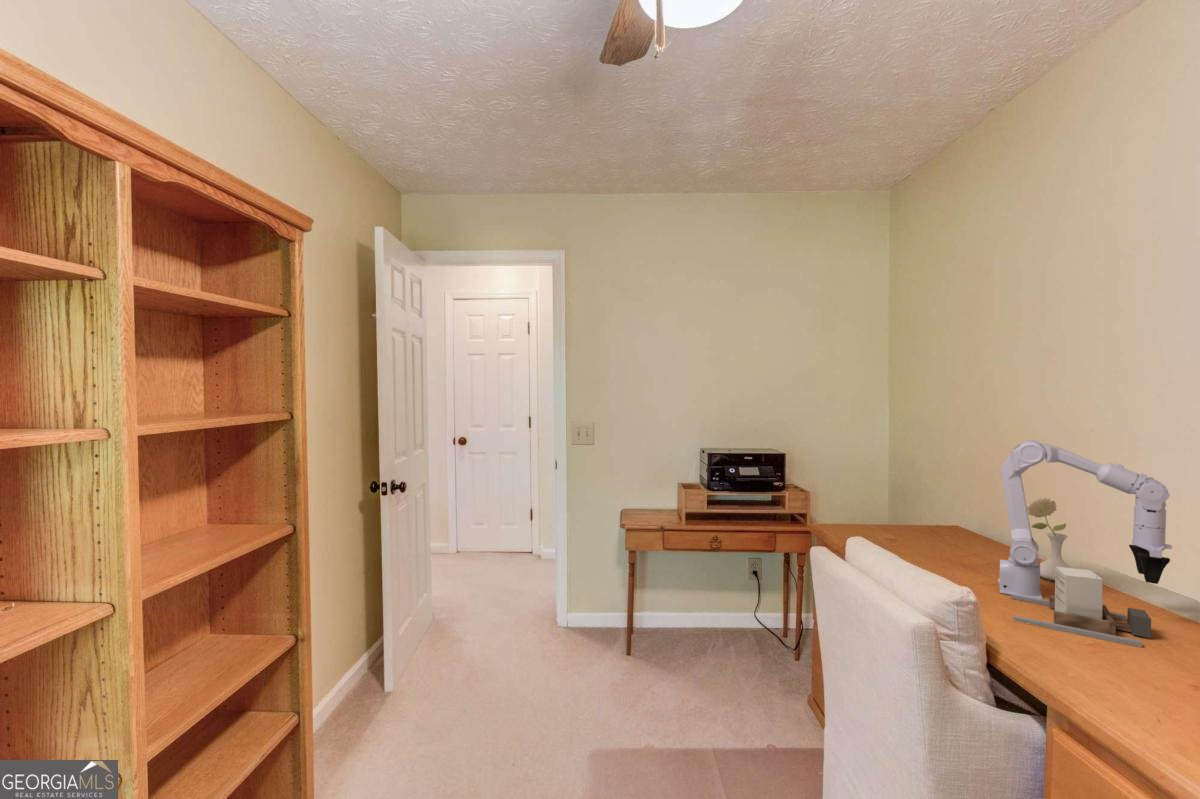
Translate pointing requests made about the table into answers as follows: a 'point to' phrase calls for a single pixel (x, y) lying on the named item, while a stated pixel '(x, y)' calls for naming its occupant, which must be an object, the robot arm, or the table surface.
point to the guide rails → (1073, 629)
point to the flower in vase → (1045, 509)
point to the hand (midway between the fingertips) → (1147, 578)
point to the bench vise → (1105, 621)
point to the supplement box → (1078, 592)
